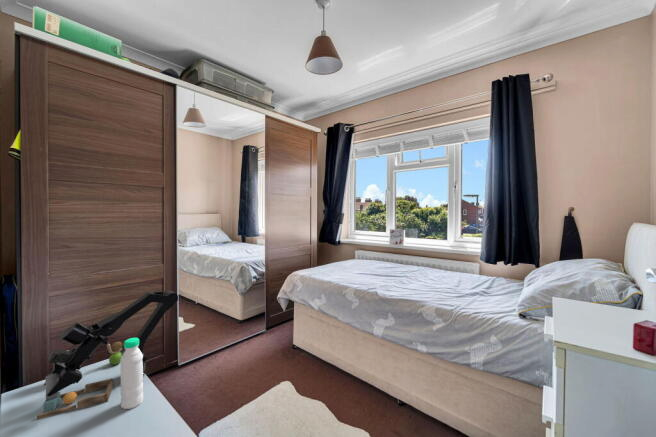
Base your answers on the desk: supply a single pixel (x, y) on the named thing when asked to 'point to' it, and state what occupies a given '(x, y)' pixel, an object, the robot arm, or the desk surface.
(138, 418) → the desk surface
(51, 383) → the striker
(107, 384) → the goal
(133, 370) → the water bottle
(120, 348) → the snail figurine
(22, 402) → the desk surface
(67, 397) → the ball
